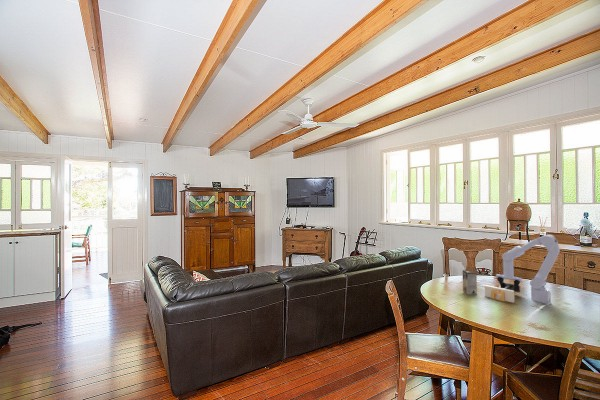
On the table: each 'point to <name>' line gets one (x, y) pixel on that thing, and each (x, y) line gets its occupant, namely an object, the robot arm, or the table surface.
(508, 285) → the shaft
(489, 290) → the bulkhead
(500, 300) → the block
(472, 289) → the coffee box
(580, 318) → the table surface
